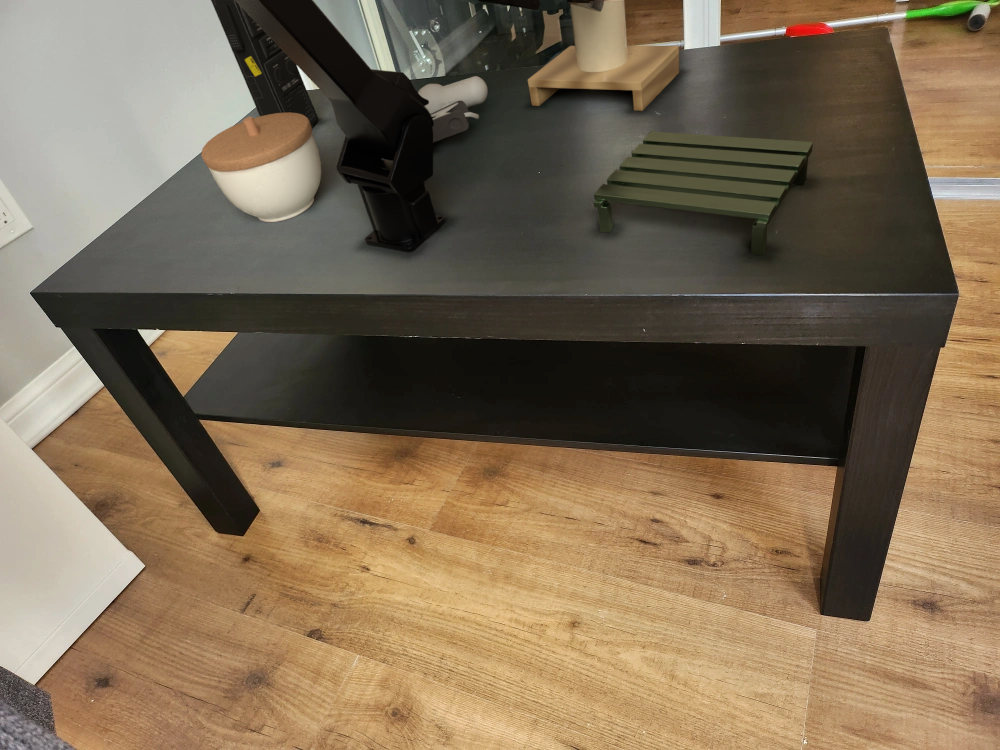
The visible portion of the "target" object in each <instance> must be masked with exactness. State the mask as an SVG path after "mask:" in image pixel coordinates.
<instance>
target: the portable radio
mask: <svg viewBox="0 0 1000 750" xmlns="http://www.w3.org/2000/svg"><path fill="white" fill-rule="evenodd" d="M210 2H211V4H212V6H213V8H214V12H215V14H216V15H217V18H218V20H219V23H220V25H221V27H222V31H223V32H224V34H225V37H226V39H227V42H228V44H229V46H230V49H231V52H232V54H233V56H234V58H235V61H236V64H237V66H238V68H239V71H240V72H241V75H242V77H243V80H244V83H245V84H246V87H247V89H248V91H249V93H250V96H251V98H252V101H253V103H254V106H255V108H256V111H257V113H258V115H259V116H258V117H260V116H264V115H269V114H275V113H298V114H302V115H304V116H305V117H307V118H308V120H309V122H310V124H311V127H314V126H315V125H316V124H317V123H318V122H319V119H320V118H319V116H318V113H317V110H316V108H315V106H314V104H313V102H312V100H311V97H310V95H309V92H308V90H307V87H306V85H305V83H304V80H303V78H302V75H301V72H300V70H299V67H298V66H297V65H296V64H295V63H294V62H293V61H292V60H291V59H290V58H289V56H288V55H287V54H286V53H285V52H284V51H283V50H282V49H281V48H280V47H279V46H278V45H277V44H276V43H275V42H274V41H273V40H272V39H271V38H270V37H269V36H268V35H267V33H266V32H265V31H264V30H263V29H262V28H261V27H260V26H259V25H258V24H257V23H256V22H255V21H254V20H253V19H252V18H251V17H250V16H249V15H248V14H247V13H246V11H245V10H244V9H243V8H242V7H241V6H240V5H239V4H238V3H237V2H236V1H235V0H210Z"/></svg>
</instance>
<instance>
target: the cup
mask: <svg viewBox="0 0 1000 750" xmlns="http://www.w3.org/2000/svg"><path fill="white" fill-rule="evenodd" d="M569 6H570V15H571V25H572V33H573V41H574V46H575V51H576V60H577V67H578V69H579V70H581V71H584V72H603V71H608V70H612V69H615V68H618V67H620V66H622V65H624V64H625V63H626V62H627V61H628V48H627V46H628V35H627V20H626V5H625V0H604V5H603V8H602V11H601V12H598V11H593V10H590V9H586V8H583V7H580V6H576V5H573V4H569Z"/></svg>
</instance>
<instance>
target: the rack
mask: <svg viewBox="0 0 1000 750" xmlns="http://www.w3.org/2000/svg"><path fill="white" fill-rule="evenodd" d="M813 146H814V141H806V140H805V141H804V140H789V139H788V140H787V139H775V138H774V139H773V138H756V137H743V136H742V137H740V136H726V135H710V134H694V133H680V132H679V133H676V132H661V131H649V133H648V134H647V135H646V136H644V138H643V139H642V143H639V144H638V145H637V146H636V147H635V148H634V149H633V150H632V151H631V153H630V154H631V156H627V157H625V159H624V160H622V162H621V163H620V164H619V167H618V168H619V169H615V170H614V171H613V172H612V173H611V174H610V175H609V177H607V179H606V183H602V184H601V185H600V186H599V188H597V189H596V191H595V192H594V193H593V199H594V201H593V202H592V203H593V207H594V208H595V209H597V214H598V223H599V232H600V233H605V234H610V233H611V232H612V230H613V229H614V220H613V219H614V217H613V209H612V203H613V202H614V203H619V204H620V203H622V204H628V205H629V204H630V205H639V206H646V207H654V208H661V209H662V208H663V209H672V210H679V211H680V210H681V211H688V212H695V213H705V214H713V215H719V216H722V215H723V216H727V217H729V216H730V217H737V218H744V219H745V218H746V219H754V220H755V221H754V222H753V224H752V226H751V227H752V228H751V244H750V247H751V248H750V254H751V255H756V256H764V254H765V253H766V251H767V243H768V242H767V241H768V226H769V225H770V223H771V221H772V219H773V218H774V216H775V214H776V213H777V211H778V209H779V207H780V206H781V204H782V203H783V202H784V199H785V198H786V196H787V194H788V193H789V191H790V189H791V188H792V186H793V185H795V186H796V185H797V186H804V184H805V183H806V181H807V175H808V165H809V157H810V156H811V154H812V152H813V148H814V147H813Z"/></svg>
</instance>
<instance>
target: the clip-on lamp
mask: <svg viewBox="0 0 1000 750" xmlns="http://www.w3.org/2000/svg"><path fill="white" fill-rule="evenodd" d="M488 91H489V90H488V86H487V83H486V82H485V80H484V79H483V78H481V77H479V76H477V75H474V76H470V77H468V78H465V79H461V80H459V81H455V82H452V83H448V84H445V85H441V84H439V83H428V84H425V85H424V86H423V87H421V88H420V89H419V90H418V91H417V92H418V94H419V95H420V96H422V97H423V98H425V99H427V100H428V101H429V104H428V105H426V106H425V107H426V108H427V109H428V111H429V112H430V114H431V116H432V118H433V122H434V126H433V127H432V128H433V143H435V142H438V141H441V140H443V139H446V138H449V137H452V136H454V135H458V134H460V133H463V132H465V131H467V130H468V129H469V126H470V123H469V121H468V120H470V118H473V119H476V120H479V118H480V115H479V114H478V113H474V112H471V111H470V110H469V108H471V107H474V106H477V105H480V104H483V103H485V101H487V100H486V99H487V97H488Z"/></svg>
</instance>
